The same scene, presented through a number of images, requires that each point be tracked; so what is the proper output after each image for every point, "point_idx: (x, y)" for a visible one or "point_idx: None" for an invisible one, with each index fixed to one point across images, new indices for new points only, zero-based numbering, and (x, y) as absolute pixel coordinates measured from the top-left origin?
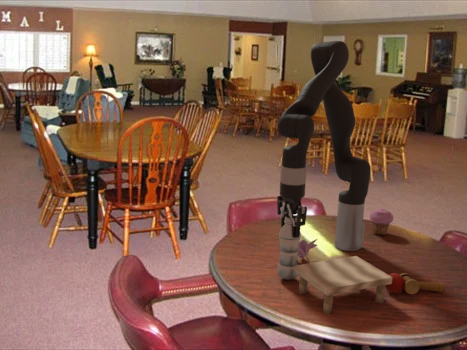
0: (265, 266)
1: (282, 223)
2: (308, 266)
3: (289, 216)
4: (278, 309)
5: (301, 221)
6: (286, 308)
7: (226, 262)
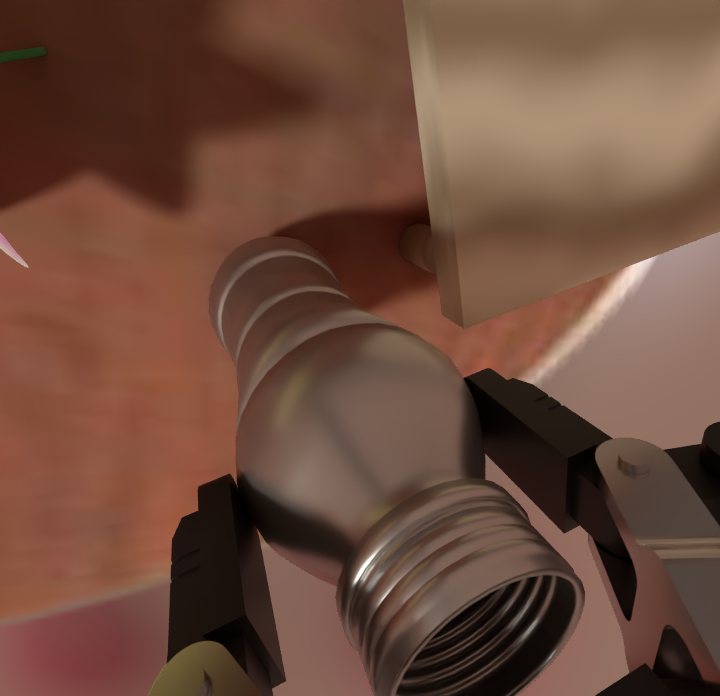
0: (65, 385)
1: (273, 614)
2: (496, 245)
3: (382, 675)
4: (516, 367)
5: (686, 482)
6: (518, 340)
7: (28, 573)
